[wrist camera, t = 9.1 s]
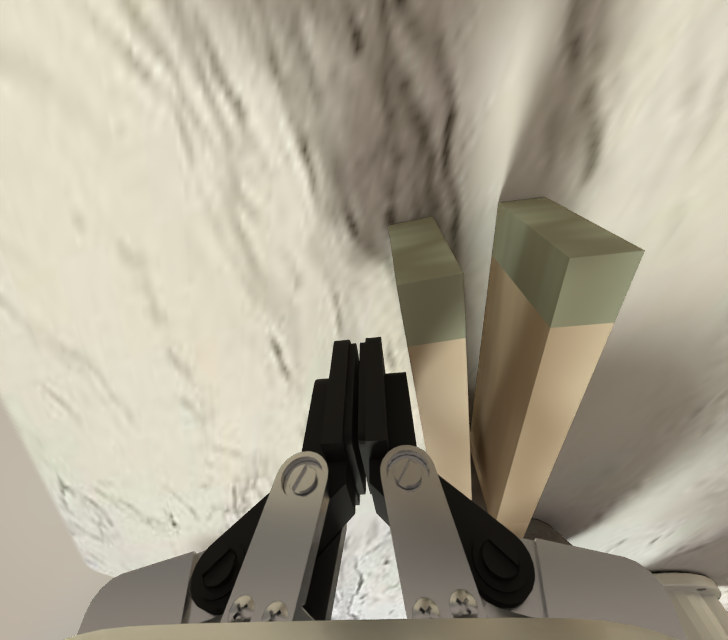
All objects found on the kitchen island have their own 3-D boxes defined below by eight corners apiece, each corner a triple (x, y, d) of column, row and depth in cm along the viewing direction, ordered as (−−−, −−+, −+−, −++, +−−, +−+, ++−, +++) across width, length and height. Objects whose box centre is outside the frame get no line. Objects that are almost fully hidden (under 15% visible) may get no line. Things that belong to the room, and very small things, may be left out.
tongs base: (551, 196, 11) (661, 253, 7) (490, 479, 22) (517, 566, 18) (425, 211, 11) (455, 274, 7) (427, 481, 22) (440, 567, 18)
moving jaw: (432, 216, 11) (463, 273, 7) (453, 442, 19) (472, 525, 15) (388, 225, 11) (396, 285, 8) (426, 445, 19) (440, 527, 15)
